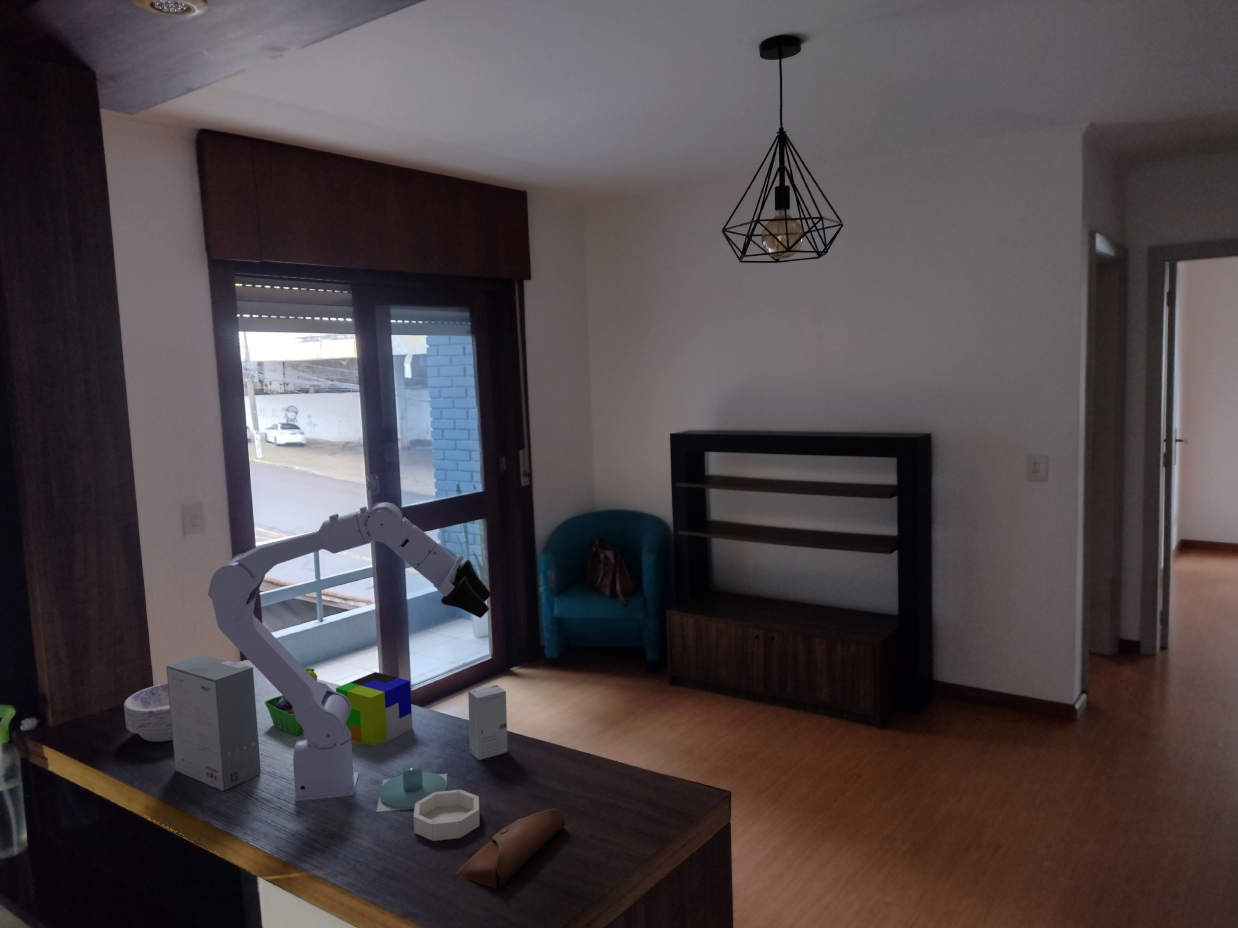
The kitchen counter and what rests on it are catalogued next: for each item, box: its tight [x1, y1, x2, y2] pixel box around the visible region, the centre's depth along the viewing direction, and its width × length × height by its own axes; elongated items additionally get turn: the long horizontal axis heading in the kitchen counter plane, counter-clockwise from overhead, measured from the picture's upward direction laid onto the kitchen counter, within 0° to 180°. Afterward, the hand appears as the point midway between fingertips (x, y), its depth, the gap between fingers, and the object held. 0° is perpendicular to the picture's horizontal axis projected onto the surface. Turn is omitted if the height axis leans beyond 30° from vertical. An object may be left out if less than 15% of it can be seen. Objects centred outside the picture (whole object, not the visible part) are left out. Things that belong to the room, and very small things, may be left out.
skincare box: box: [467, 684, 508, 761], centre depth 160 cm, size 6×4×12 cm
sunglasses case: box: [455, 807, 566, 892], centre depth 128 cm, size 18×7×7 cm
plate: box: [376, 773, 448, 813], centre depth 146 cm, size 11×11×1 cm
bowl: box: [413, 789, 481, 842], centre depth 136 cm, size 10×10×3 cm
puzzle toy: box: [335, 671, 413, 747], centre depth 171 cm, size 10×10×10 cm
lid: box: [379, 763, 447, 810], centre depth 146 cm, size 11×11×4 cm
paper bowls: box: [123, 682, 173, 743], centre depth 173 cm, size 15×15×8 cm
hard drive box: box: [165, 654, 262, 792], centre depth 154 cm, size 16×8×20 cm, turn 57°
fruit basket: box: [264, 666, 318, 736], centre depth 175 cm, size 11×9×11 cm
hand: (486, 605), depth 149 cm, fingers open, 7 cm apart
